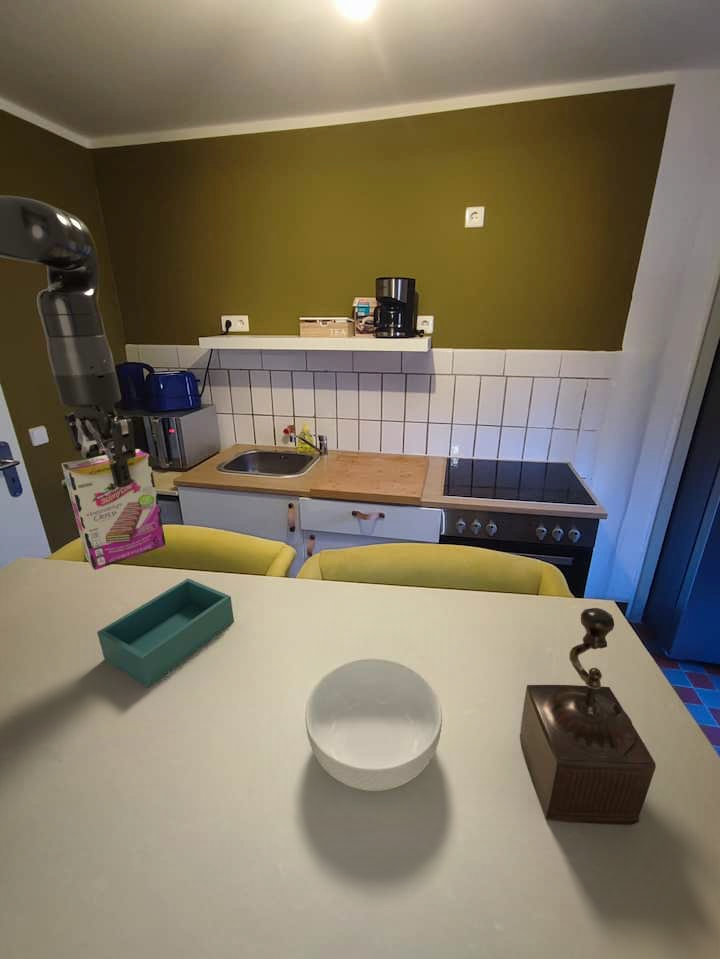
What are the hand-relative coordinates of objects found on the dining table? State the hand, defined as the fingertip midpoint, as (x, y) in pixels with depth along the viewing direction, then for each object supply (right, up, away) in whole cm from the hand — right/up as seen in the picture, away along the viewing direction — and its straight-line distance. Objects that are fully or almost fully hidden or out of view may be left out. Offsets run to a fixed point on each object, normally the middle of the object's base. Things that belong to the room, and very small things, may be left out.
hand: (111, 481), depth 66 cm
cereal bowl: (+40, -35, -10) cm, 54 cm away
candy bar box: (0, -12, +4) cm, 13 cm away
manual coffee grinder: (+65, -35, -12) cm, 74 cm away
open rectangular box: (+6, -28, +9) cm, 30 cm away
